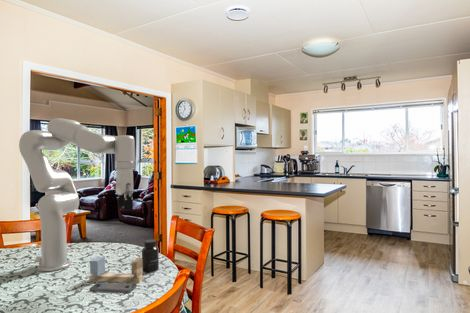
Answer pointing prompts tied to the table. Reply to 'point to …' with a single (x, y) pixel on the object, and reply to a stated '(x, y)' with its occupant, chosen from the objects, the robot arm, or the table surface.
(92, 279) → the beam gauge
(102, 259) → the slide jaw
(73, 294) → the table surface
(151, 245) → the supplement bottle
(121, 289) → the flange plate
